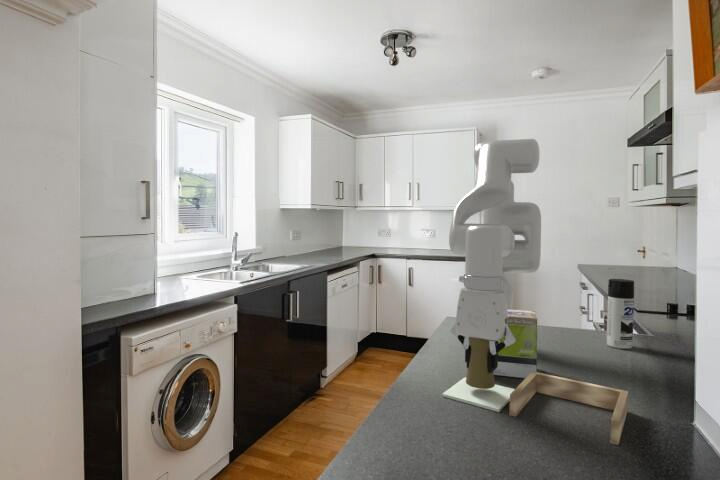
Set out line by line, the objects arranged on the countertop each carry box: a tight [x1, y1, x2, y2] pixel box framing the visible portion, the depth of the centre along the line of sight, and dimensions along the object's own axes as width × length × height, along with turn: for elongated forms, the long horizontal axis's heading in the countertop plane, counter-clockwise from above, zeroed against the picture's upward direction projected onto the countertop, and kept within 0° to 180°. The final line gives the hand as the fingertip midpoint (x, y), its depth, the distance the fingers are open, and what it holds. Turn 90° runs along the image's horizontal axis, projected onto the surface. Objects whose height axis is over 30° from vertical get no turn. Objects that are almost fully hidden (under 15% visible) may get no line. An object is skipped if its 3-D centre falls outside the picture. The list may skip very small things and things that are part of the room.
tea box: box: [493, 309, 538, 379], centre depth 106 cm, size 15×10×15 cm, turn 71°
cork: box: [465, 337, 496, 389], centre depth 91 cm, size 6×6×11 cm
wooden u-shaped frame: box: [509, 371, 629, 446], centre depth 83 cm, size 18×16×4 cm
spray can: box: [606, 278, 635, 350], centre depth 127 cm, size 7×7×20 cm
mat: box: [441, 376, 516, 413], centre depth 92 cm, size 12×12×1 cm
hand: (481, 367), depth 91 cm, fingers closed on cork, 3 cm apart
